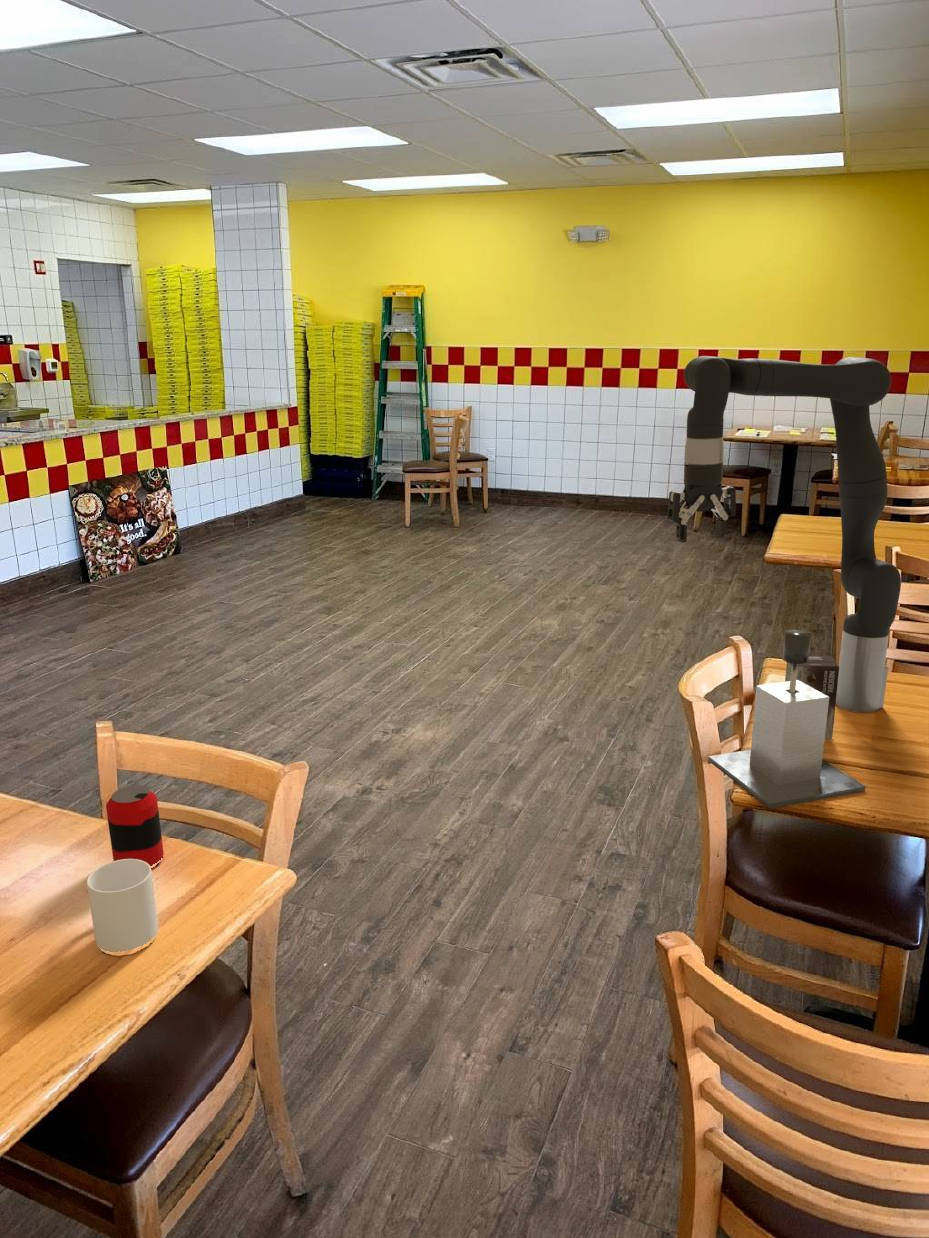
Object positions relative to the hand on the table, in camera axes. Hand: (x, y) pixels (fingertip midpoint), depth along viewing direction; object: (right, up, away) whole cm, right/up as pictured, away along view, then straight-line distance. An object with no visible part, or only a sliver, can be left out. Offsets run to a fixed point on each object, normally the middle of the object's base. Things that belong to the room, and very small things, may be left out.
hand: (700, 539), depth 190 cm
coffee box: (+22, -40, +3) cm, 46 cm away
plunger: (+12, -39, -17) cm, 45 cm away
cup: (-96, -60, -59) cm, 128 cm away
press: (+12, -46, -16) cm, 50 cm away
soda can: (-100, -55, -41) cm, 122 cm away
